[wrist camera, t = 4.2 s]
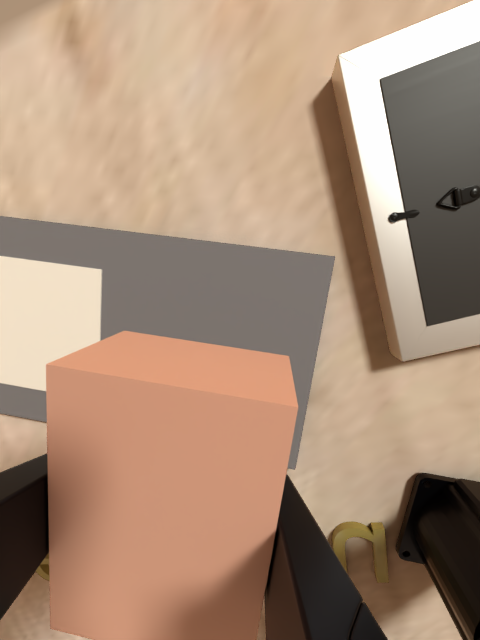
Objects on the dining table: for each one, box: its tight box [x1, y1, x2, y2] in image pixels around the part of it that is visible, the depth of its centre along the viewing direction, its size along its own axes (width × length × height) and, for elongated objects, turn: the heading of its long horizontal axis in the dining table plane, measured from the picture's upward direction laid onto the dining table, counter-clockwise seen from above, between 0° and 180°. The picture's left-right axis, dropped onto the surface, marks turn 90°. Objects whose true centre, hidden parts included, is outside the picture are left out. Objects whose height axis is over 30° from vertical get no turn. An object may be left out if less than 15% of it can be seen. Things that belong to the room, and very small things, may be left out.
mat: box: [0, 216, 335, 470], centre depth 19 cm, size 14×24×1 cm, turn 83°
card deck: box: [46, 331, 298, 640], centre depth 7 cm, size 7×5×3 cm
